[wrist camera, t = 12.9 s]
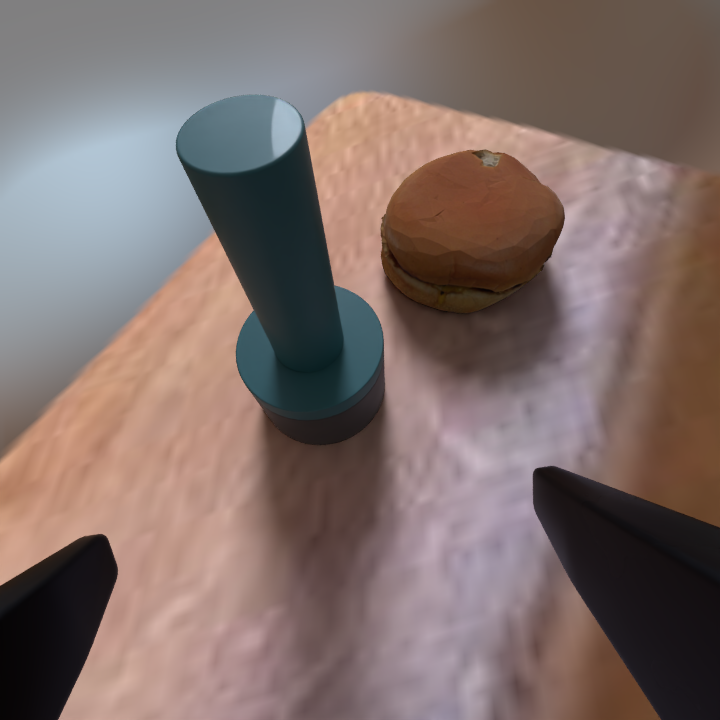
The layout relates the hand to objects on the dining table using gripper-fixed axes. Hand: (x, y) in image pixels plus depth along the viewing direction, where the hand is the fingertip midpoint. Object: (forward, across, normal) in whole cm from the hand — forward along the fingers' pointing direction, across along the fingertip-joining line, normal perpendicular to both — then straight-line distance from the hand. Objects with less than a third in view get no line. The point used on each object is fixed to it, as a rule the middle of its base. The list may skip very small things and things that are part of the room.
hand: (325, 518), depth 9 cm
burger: (+18, -9, -4) cm, 21 cm away
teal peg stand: (+13, 0, +2) cm, 13 cm away
